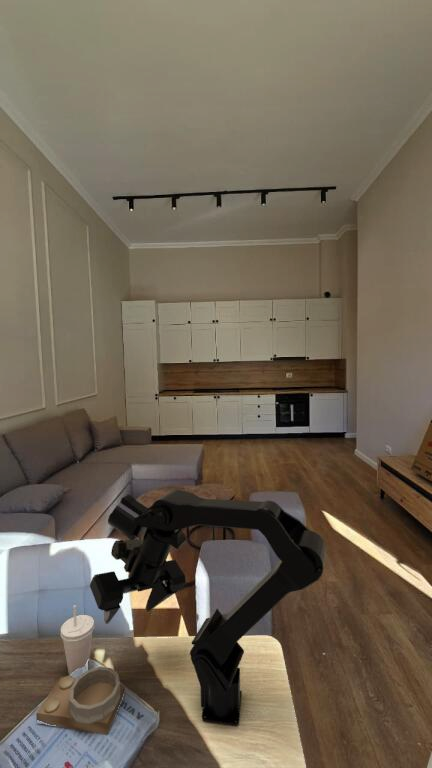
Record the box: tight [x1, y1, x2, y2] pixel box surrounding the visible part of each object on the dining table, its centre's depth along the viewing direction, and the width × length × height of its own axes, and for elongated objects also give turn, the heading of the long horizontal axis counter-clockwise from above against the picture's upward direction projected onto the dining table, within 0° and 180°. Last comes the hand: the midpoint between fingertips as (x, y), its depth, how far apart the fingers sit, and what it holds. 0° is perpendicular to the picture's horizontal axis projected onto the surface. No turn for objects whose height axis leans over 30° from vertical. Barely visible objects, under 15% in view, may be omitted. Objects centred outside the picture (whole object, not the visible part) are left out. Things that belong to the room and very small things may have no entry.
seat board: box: [35, 666, 126, 735], centre depth 65 cm, size 13×8×4 cm, turn 81°
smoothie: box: [60, 604, 95, 676], centre depth 73 cm, size 6×6×14 cm
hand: (127, 615), depth 72 cm, fingers open, 9 cm apart
